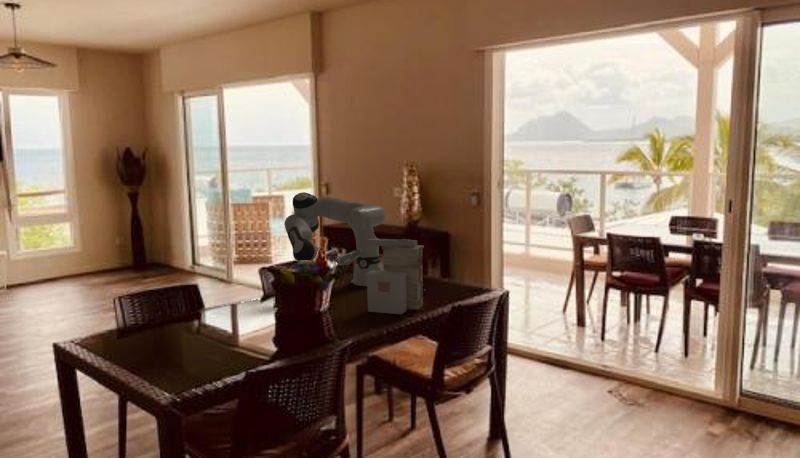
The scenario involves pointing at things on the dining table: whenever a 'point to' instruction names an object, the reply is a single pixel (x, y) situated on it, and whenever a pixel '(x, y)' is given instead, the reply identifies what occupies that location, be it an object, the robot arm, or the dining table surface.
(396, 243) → the bar
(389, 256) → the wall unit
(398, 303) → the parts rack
